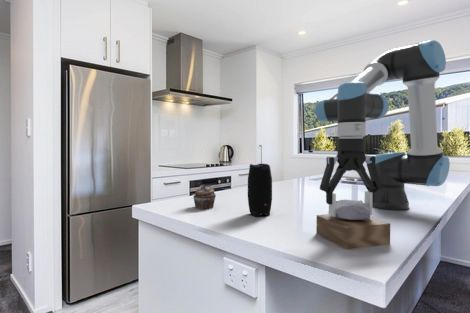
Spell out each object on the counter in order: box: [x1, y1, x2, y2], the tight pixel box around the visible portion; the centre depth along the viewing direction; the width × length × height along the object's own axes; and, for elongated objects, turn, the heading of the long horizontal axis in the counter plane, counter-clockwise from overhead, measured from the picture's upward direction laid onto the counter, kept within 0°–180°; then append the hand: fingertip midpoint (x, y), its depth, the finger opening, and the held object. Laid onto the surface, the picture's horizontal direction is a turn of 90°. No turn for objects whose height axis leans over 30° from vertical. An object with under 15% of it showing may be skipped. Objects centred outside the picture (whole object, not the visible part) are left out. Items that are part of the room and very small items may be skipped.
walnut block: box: [315, 213, 391, 250], centre depth 84 cm, size 14×14×6 cm
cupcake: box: [192, 184, 217, 211], centre depth 125 cm, size 10×10×10 cm
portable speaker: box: [247, 163, 273, 218], centre depth 112 cm, size 9×9×20 cm
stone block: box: [336, 199, 371, 220], centre depth 85 cm, size 12×5×10 cm
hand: (350, 214), depth 84 cm, fingers closed on stone block, 10 cm apart
